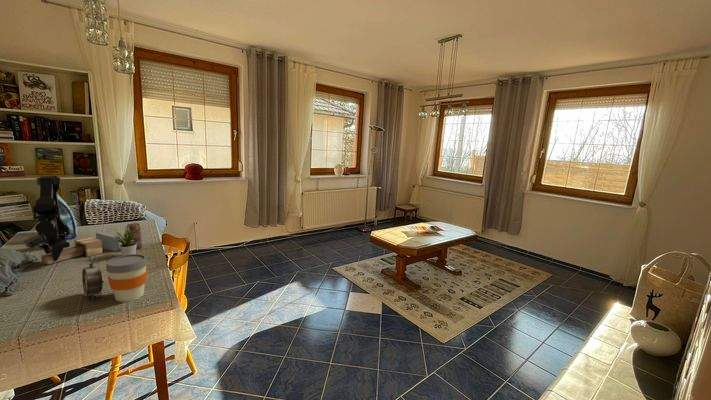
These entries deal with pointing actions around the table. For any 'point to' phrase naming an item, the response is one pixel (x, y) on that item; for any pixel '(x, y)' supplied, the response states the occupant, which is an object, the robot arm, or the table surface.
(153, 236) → the table surface
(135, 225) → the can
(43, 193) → the robot arm
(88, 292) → the alarm clock
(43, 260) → the peg
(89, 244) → the block
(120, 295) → the reusable coffee cup
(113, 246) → the backstop
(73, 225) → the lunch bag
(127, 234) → the house plant
